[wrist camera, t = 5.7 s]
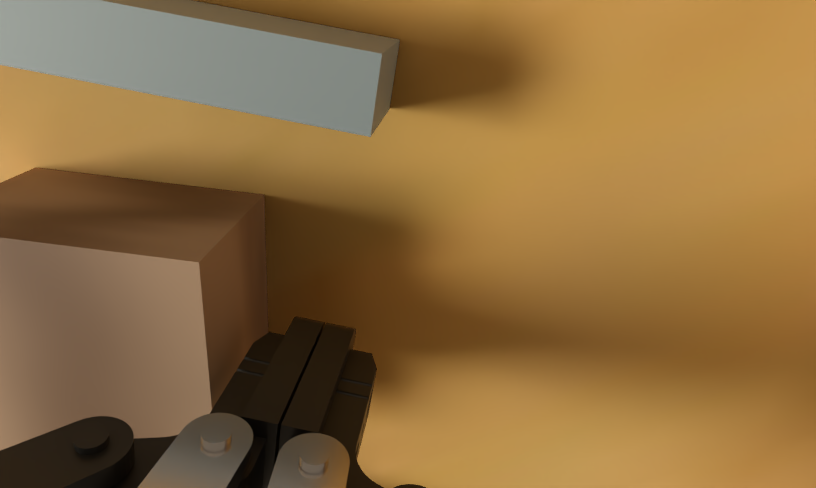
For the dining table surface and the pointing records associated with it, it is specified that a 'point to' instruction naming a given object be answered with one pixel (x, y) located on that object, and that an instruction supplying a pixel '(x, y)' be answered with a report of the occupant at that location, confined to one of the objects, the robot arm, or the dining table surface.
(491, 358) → the dining table surface
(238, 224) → the walnut block
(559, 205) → the dining table surface
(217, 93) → the channel
